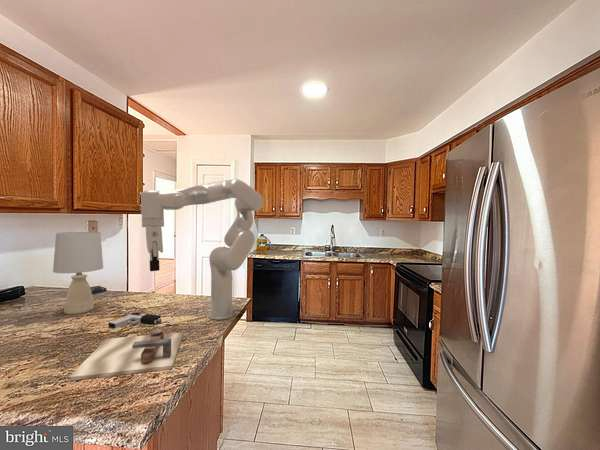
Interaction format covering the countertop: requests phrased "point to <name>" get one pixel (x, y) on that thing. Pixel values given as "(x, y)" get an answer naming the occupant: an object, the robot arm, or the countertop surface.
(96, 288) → the disk drive
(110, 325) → the toy gun
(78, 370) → the hinge board
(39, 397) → the countertop surface
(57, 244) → the lamp
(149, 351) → the walnut link
